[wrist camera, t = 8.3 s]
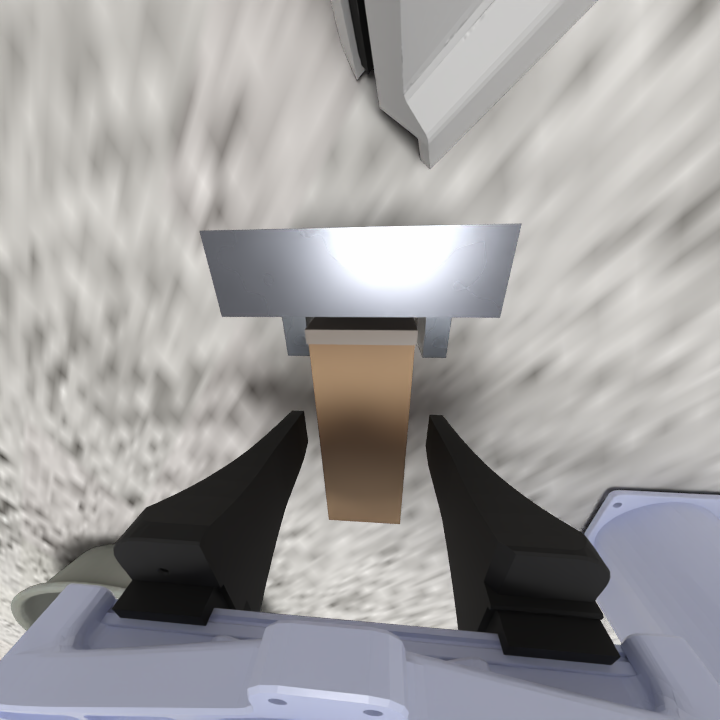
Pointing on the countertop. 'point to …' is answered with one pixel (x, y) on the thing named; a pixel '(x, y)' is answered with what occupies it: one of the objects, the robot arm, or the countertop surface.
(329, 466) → the block
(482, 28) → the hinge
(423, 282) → the grey metal bench
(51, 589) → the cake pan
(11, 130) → the countertop surface
